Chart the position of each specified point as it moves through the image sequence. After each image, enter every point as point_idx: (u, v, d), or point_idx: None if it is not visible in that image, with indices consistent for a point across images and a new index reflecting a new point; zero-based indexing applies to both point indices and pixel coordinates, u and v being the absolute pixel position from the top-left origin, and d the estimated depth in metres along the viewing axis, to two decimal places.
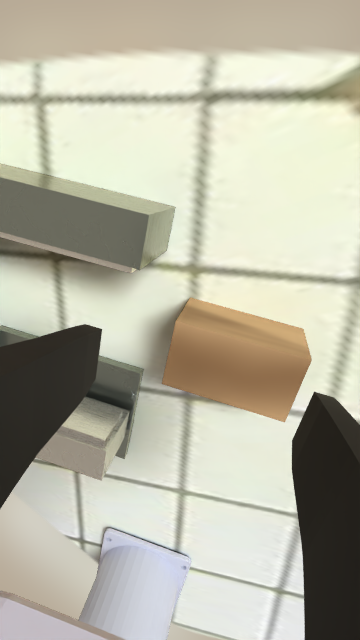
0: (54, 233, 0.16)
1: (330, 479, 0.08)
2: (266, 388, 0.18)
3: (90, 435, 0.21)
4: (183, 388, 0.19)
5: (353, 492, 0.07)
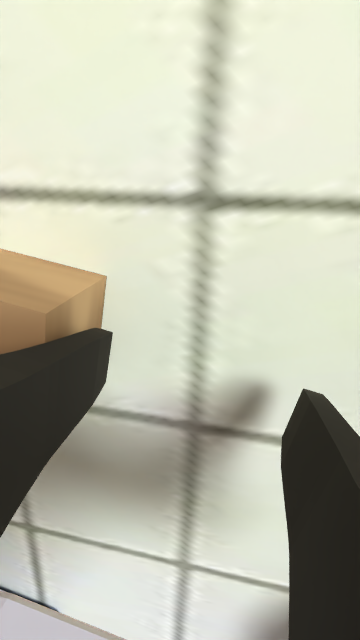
0: None
1: (315, 474, 0.08)
2: None
3: None
4: None
5: (336, 486, 0.07)
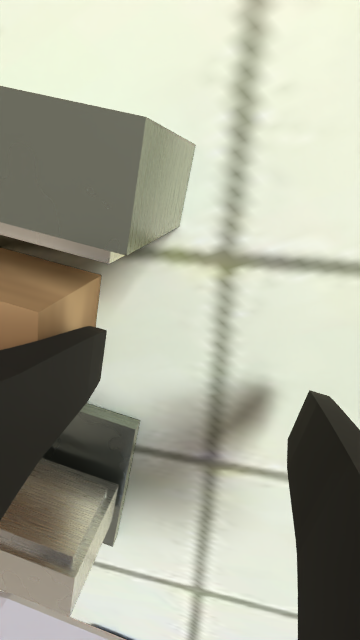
0: None
1: (323, 477, 0.08)
2: None
3: (48, 546, 0.12)
4: None
5: (346, 490, 0.07)
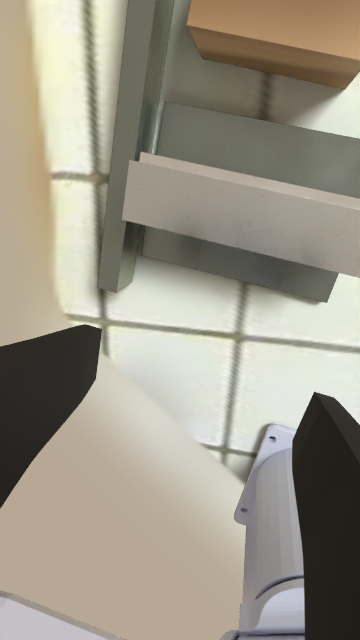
0: None
1: (329, 479, 0.08)
2: None
3: (355, 199, 0.14)
4: (218, 27, 0.13)
5: (353, 492, 0.07)
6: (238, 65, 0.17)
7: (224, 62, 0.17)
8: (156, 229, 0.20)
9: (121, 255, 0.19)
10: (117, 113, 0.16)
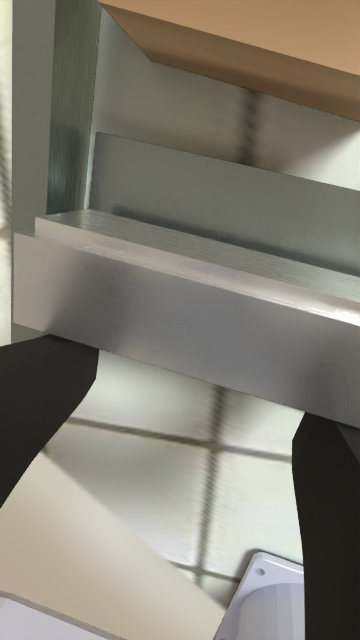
0: None
1: (329, 479, 0.08)
2: None
3: None
4: (154, 9, 0.07)
5: (353, 492, 0.07)
6: (205, 75, 0.10)
7: (183, 69, 0.11)
8: None
9: None
10: (14, 153, 0.10)
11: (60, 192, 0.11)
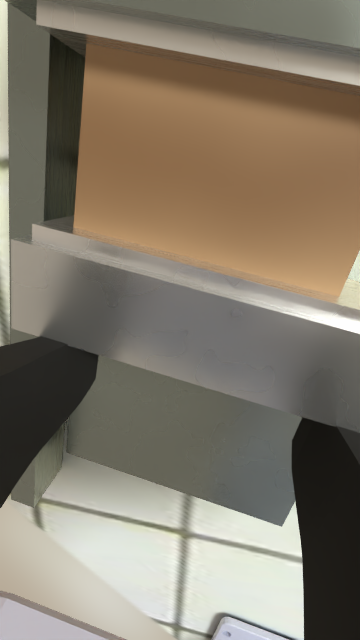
0: None
1: (329, 478, 0.08)
2: (301, 209, 0.08)
3: None
4: (118, 234, 0.09)
5: (352, 492, 0.07)
6: None
7: None
8: (81, 431, 0.16)
9: (34, 476, 0.16)
10: (11, 341, 0.13)
11: None
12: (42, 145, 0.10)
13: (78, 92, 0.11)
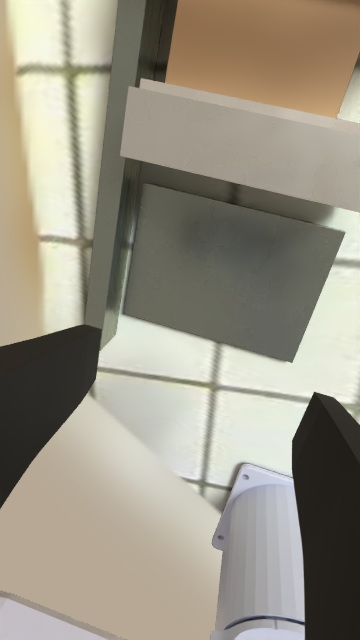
0: None
1: (329, 479, 0.08)
2: (311, 61, 0.13)
3: None
4: None
5: (353, 492, 0.07)
6: None
7: None
8: (137, 292, 0.21)
9: (103, 319, 0.20)
10: (98, 198, 0.18)
11: (122, 219, 0.19)
12: (138, 37, 0.15)
13: (158, 7, 0.16)
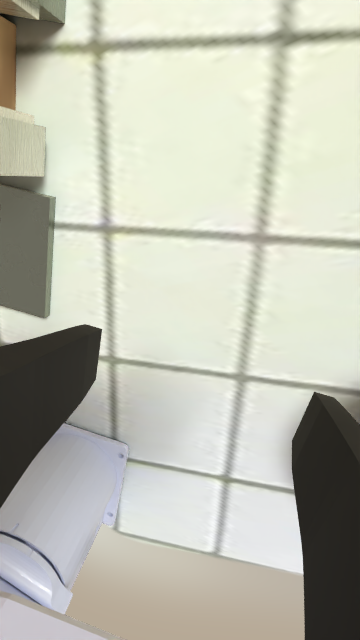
0: None
1: (329, 478, 0.08)
2: None
3: None
4: None
5: (353, 492, 0.07)
6: None
7: None
8: None
9: None
10: None
11: None
12: None
13: None
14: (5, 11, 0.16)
